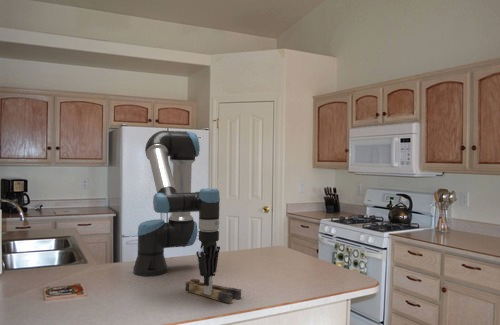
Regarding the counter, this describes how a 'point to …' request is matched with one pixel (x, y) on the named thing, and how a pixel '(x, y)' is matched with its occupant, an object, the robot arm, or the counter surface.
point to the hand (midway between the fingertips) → (208, 293)
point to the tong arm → (215, 294)
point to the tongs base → (219, 288)
